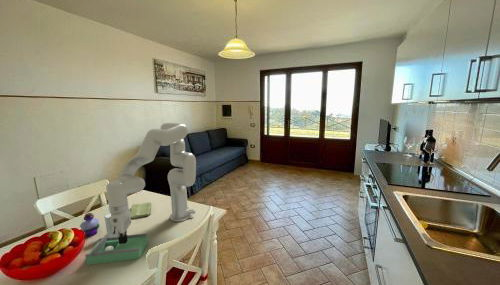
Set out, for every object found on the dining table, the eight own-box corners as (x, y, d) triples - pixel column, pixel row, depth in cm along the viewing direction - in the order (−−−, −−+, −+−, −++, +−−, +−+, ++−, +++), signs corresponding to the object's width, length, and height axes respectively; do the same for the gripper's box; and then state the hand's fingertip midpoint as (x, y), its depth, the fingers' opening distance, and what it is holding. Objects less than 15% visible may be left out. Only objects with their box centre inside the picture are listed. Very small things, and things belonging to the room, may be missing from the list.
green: (147, 241, 108) (146, 230, 107) (139, 258, 96) (138, 246, 95) (101, 247, 104) (99, 235, 103) (86, 264, 92) (84, 252, 91)
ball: (111, 254, 100) (117, 248, 101) (106, 258, 96) (113, 252, 97) (105, 248, 100) (111, 242, 100) (100, 252, 96) (107, 246, 96)
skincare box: (119, 230, 118) (116, 211, 116) (122, 233, 115) (119, 213, 113) (106, 235, 113) (104, 215, 111) (109, 238, 110) (106, 218, 108)
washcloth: (127, 221, 128) (126, 216, 128) (132, 207, 144) (131, 203, 144) (150, 216, 133) (150, 212, 132) (152, 204, 149) (152, 200, 148)
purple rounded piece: (102, 233, 115) (99, 214, 113) (82, 241, 109) (79, 220, 107) (99, 227, 121) (96, 208, 119) (80, 233, 115) (77, 213, 113)
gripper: (120, 214, 90) (125, 252, 93) (133, 199, 104) (137, 232, 107) (101, 216, 88) (107, 254, 92) (117, 200, 103) (121, 234, 106)
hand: (123, 242), depth 99 cm, fingers closed
